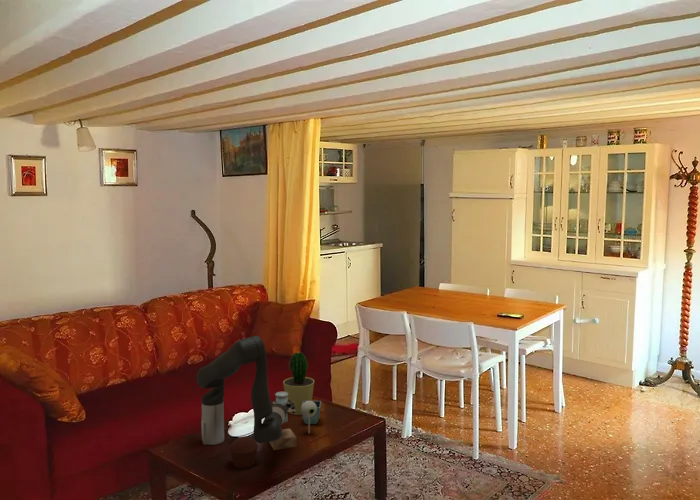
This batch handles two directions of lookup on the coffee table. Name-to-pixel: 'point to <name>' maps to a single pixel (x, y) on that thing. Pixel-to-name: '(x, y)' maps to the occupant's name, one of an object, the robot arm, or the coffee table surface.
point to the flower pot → (314, 418)
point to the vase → (282, 401)
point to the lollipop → (308, 411)
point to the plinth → (285, 440)
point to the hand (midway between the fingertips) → (282, 401)
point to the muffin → (243, 452)
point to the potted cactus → (298, 383)
